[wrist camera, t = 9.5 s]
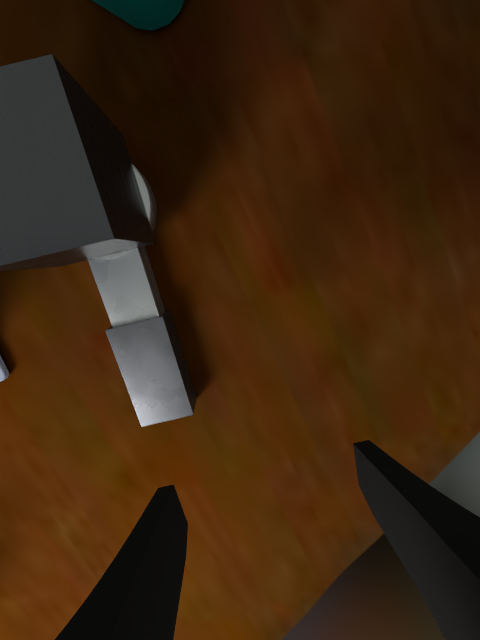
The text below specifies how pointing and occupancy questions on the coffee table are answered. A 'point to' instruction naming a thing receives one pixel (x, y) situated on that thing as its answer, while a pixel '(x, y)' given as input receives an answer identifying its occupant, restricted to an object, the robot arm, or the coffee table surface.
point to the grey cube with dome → (62, 173)
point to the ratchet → (144, 330)
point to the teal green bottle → (144, 12)
